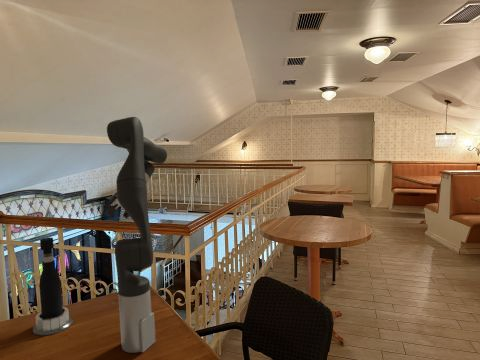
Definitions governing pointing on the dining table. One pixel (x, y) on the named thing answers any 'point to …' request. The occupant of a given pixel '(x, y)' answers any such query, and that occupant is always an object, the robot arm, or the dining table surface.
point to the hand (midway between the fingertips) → (116, 216)
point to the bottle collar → (52, 323)
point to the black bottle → (49, 283)
